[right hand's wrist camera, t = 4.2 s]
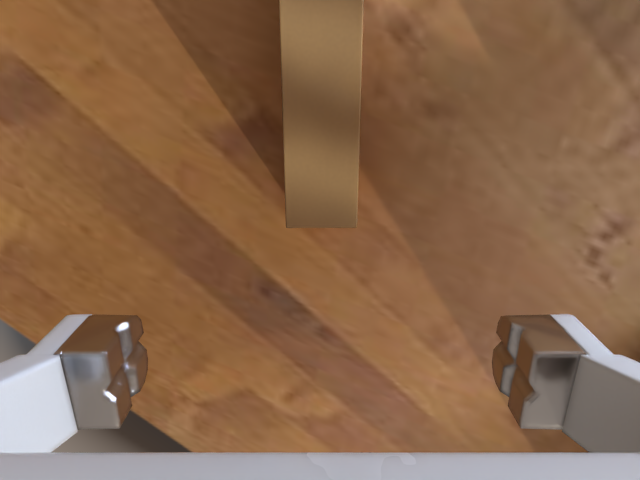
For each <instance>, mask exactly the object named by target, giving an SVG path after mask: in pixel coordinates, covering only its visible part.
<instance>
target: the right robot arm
mask: <svg viewBox="0 0 640 480" xmlns="http://www.w3.org/2000/svg"><path fill="white" fill-rule="evenodd" d="M143 333H144V332H143V327H142V322H141V319H140V318H139V317H138V316H137V315H92V314H73V315H67V316H66V317H64V318H63V319H62V320H61V321H60V322H59V323H58V324H57V325H56V326H55V327H54V328H53V329H52V330H51V331H50V332H49V333H48V334H47V335H46V336H45V337H44V338H43V339H42V340H41V341H40V342H39V343H38V344H37V345H36V346H35V347H34V348H33V349H32V350H31V351H30V352H29V353H28V354H26V355H17V356H15V357H12V358H10V359H8V360H6V361H3V362H1V363H0V480H640V363H639V362H637V361H634V360H632V359H630V358H628V357H625V356H623V355H614V354H613V353H612V352H611V351H609V350H608V349H607V348H606V347H605V346H604V345H603V344H602V343H601V342H600V341H599V340H598V339H597V338H596V337H595V336H594V335H593V334H592V333H591V332H590V331H589V330H588V329H587V328H586V327H585V326H584V325H583V324H582V323H581V322H580V321H579V320H578V319H577V318H576V317H575V316H573V315H570V314H555V315H514V316H501V317H500V320H499V322H498V326H497V332H496V333H497V334H498V336H499V337H500V339H501V342H500V343H499V344H498V345H497V346H496V347H495V349H494V350H493V358H492V368H493V376H494V379H495V382H496V385H497V387H498V388H499V390H500V392H502V393H503V394H505V395H507V396H508V397H509V402H508V407H509V408H510V410H511V412H512V414H513V416H514V417H515V419H516V421H517V423H518V424H519V426H520V428H524V429H561V430H562V432H564V433H565V434H566V435H567V436H569V437H570V438H571V439H573V440H574V441H575V442H576V443H578V444H579V445H580V446H582V447H583V448H584V449H586V450H587V451H588V452H589V453H51V452H52V451H53V450H55V449H56V448H57V447H58V446H60V445H61V444H62V443H64V442H65V441H66V440H68V439H69V438H70V437H71V436H73V435H74V434H75V433H77V432H78V430H79V429H114V428H120V426H121V425H122V423H123V421H124V419H125V417H126V416H127V414H128V412H129V410H130V408H131V407H132V402H131V397H132V396H133V395H135V394H137V393H138V392H140V390H141V388H142V386H143V385H144V383H145V379H146V375H147V370H148V357H147V350H146V349H145V347H144V346H143V345H142V344H141V343H140V342H139V339H140V337H141V336H142V334H143Z"/></svg>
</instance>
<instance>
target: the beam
mask: <svg viewBox="0 0 640 480" xmlns="http://www.w3.org/2000/svg"><path fill="white" fill-rule="evenodd" d="M363 5H364V0H279V18H280V50H281V82H282V114H283V147H284V179H285V211H286V228H357V212H358V177H359V143H360V108H361V74H362V39H363Z"/></svg>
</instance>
